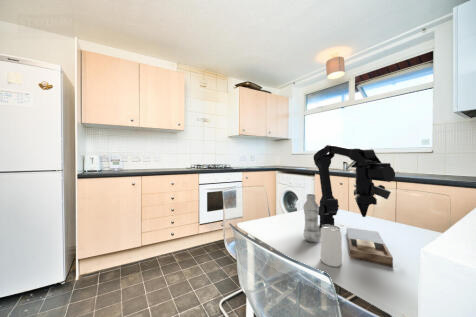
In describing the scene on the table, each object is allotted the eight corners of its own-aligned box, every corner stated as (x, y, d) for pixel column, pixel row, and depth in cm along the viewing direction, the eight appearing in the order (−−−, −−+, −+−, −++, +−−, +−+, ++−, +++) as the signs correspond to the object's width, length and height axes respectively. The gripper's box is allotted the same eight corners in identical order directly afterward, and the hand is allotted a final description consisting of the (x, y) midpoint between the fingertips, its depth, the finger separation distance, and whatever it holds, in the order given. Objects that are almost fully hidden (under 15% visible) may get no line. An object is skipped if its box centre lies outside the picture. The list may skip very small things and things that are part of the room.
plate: (348, 245, 77) (348, 238, 77) (346, 233, 89) (346, 227, 89) (385, 252, 71) (384, 244, 71) (377, 238, 83) (377, 231, 83)
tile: (357, 251, 70) (357, 244, 70) (356, 245, 75) (356, 239, 75) (375, 254, 68) (375, 247, 68) (373, 248, 72) (373, 241, 72)
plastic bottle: (318, 238, 83) (318, 194, 84) (320, 245, 77) (319, 196, 77) (303, 236, 86) (303, 193, 86) (303, 243, 79) (303, 195, 79)
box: (350, 258, 67) (350, 249, 67) (348, 245, 76) (348, 238, 76) (392, 266, 61) (392, 257, 61) (385, 252, 71) (385, 244, 71)
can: (317, 257, 67) (317, 224, 67) (334, 256, 68) (334, 223, 68) (327, 268, 61) (327, 231, 61) (346, 267, 61) (345, 230, 61)
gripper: (394, 182, 65) (394, 227, 65) (383, 177, 81) (383, 213, 81) (356, 181, 70) (356, 222, 70) (353, 176, 87) (353, 210, 87)
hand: (363, 216), depth 77 cm, fingers closed
